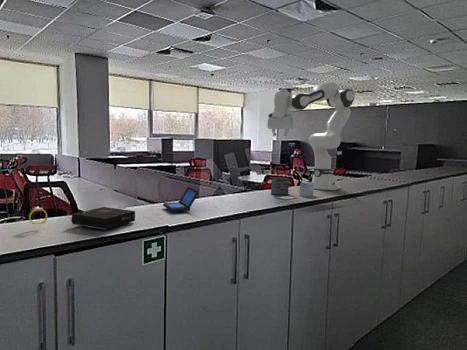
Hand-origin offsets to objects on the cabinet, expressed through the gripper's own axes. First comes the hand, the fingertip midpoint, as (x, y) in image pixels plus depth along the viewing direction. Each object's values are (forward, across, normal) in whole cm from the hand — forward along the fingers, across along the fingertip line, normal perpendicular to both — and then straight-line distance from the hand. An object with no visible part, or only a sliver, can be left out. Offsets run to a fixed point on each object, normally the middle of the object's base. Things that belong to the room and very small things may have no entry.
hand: (279, 135), depth 235 cm
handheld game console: (+36, -16, +86) cm, 94 cm away
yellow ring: (+35, -15, +147) cm, 152 cm away
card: (+36, -24, +18) cm, 47 cm away
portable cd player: (+36, -23, +125) cm, 132 cm away
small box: (+37, -11, +11) cm, 40 cm away
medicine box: (+37, -25, +2) cm, 45 cm away
